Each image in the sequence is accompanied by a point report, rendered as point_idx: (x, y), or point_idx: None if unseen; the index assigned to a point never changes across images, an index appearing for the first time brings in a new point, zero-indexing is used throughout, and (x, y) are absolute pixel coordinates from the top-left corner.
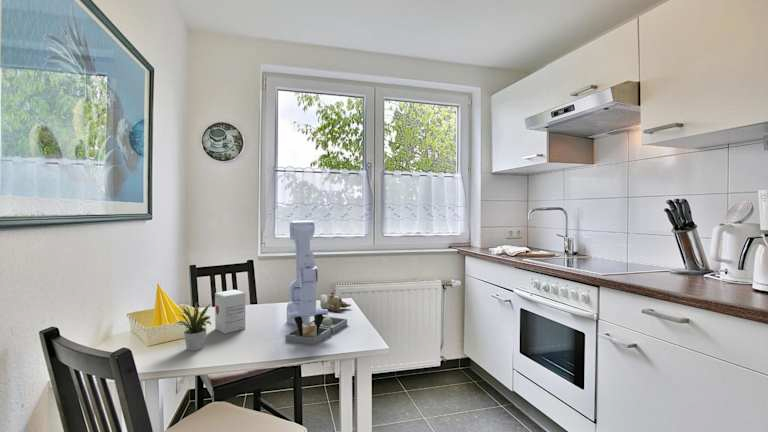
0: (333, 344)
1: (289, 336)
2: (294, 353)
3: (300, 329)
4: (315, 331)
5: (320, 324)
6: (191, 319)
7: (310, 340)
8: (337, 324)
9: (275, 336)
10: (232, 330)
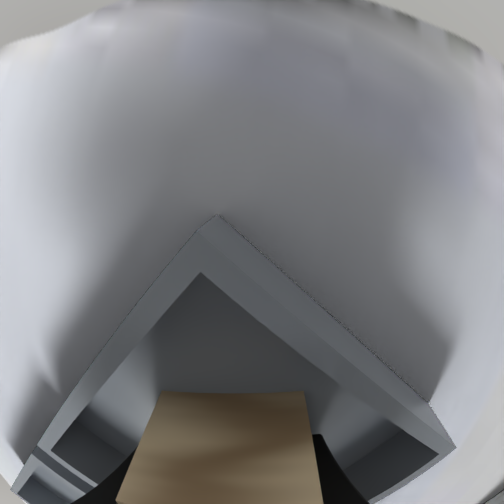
0: (33, 233)
1: (436, 427)
2: (432, 124)
3: (346, 496)
4: (151, 450)
5: (76, 500)
6: None
7: (245, 263)
8: (23, 472)
9: (421, 485)
10: (501, 496)
